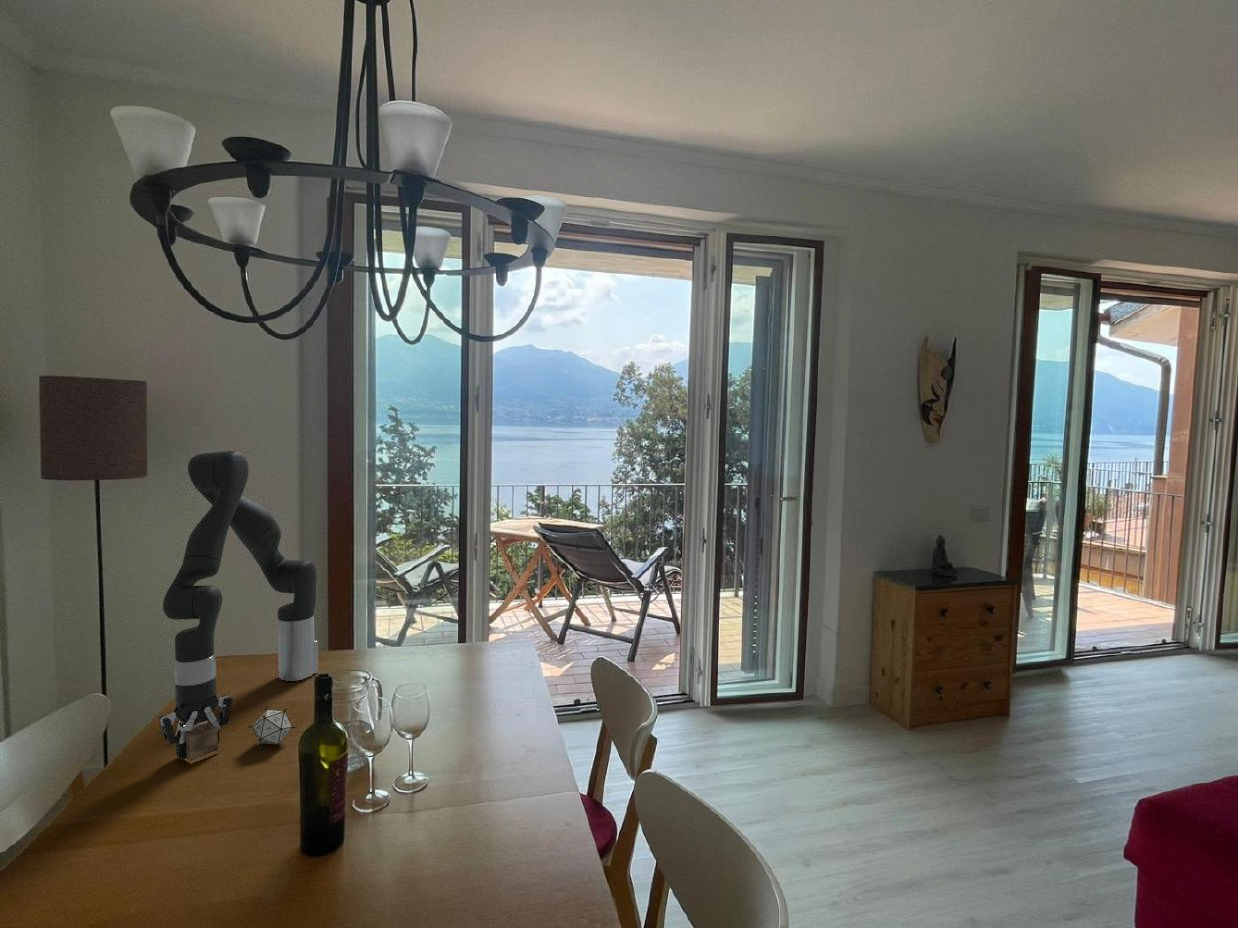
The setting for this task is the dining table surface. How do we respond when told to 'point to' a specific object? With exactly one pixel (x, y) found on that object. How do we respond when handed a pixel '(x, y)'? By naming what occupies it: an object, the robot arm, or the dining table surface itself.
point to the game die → (272, 726)
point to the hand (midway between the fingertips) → (198, 751)
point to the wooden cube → (201, 740)
